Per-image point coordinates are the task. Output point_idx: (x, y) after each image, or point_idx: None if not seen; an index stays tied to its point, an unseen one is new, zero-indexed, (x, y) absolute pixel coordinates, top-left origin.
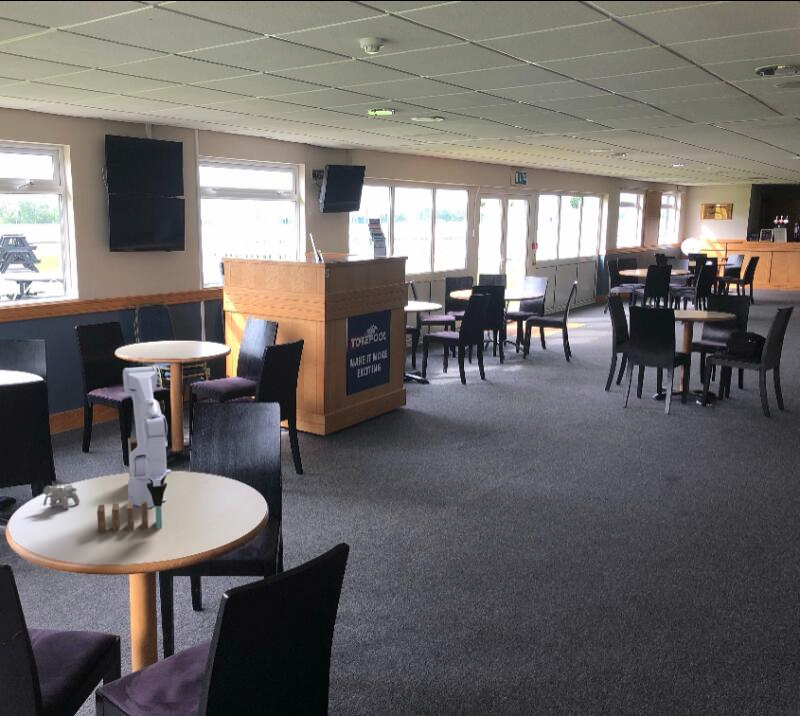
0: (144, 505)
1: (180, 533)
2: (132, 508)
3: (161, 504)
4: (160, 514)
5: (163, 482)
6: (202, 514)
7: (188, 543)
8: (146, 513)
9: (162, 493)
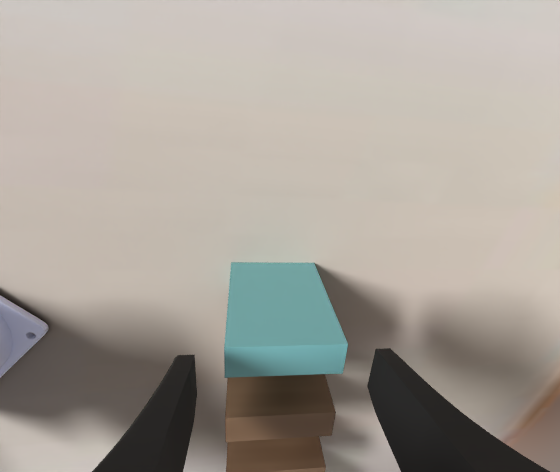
0: (307, 423)
1: (420, 182)
2: (310, 460)
3: (397, 356)
4: (329, 307)
5: (158, 463)
6: (182, 18)
7: (553, 151)
8: (324, 378)
9: (488, 442)
